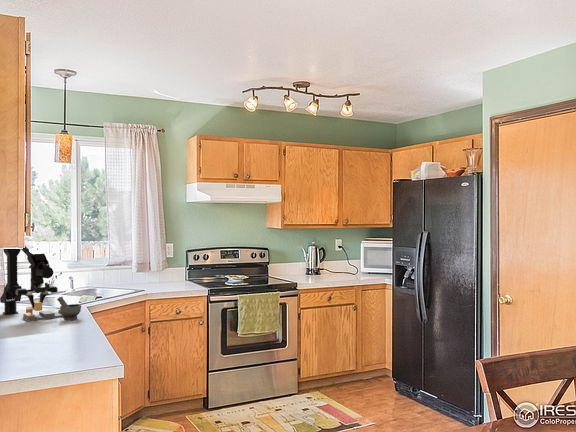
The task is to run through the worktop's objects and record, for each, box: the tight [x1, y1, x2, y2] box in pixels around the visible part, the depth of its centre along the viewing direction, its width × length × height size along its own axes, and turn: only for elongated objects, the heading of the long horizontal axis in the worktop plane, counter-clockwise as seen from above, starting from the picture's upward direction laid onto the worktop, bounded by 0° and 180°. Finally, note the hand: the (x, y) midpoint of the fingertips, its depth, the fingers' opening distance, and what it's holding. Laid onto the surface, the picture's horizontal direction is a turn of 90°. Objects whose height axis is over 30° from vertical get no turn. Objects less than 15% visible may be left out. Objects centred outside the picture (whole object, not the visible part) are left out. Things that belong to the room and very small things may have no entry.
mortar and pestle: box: [56, 295, 82, 322], centre depth 258 cm, size 11×9×12 cm
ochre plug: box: [31, 300, 43, 312], centre depth 262 cm, size 9×3×4 cm, turn 40°
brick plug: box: [25, 306, 34, 315], centre depth 270 cm, size 9×3×4 cm, turn 26°
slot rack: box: [22, 308, 64, 322], centre depth 264 cm, size 10×20×3 cm, turn 130°
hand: (36, 307), depth 261 cm, fingers closed on ochre plug, 3 cm apart
